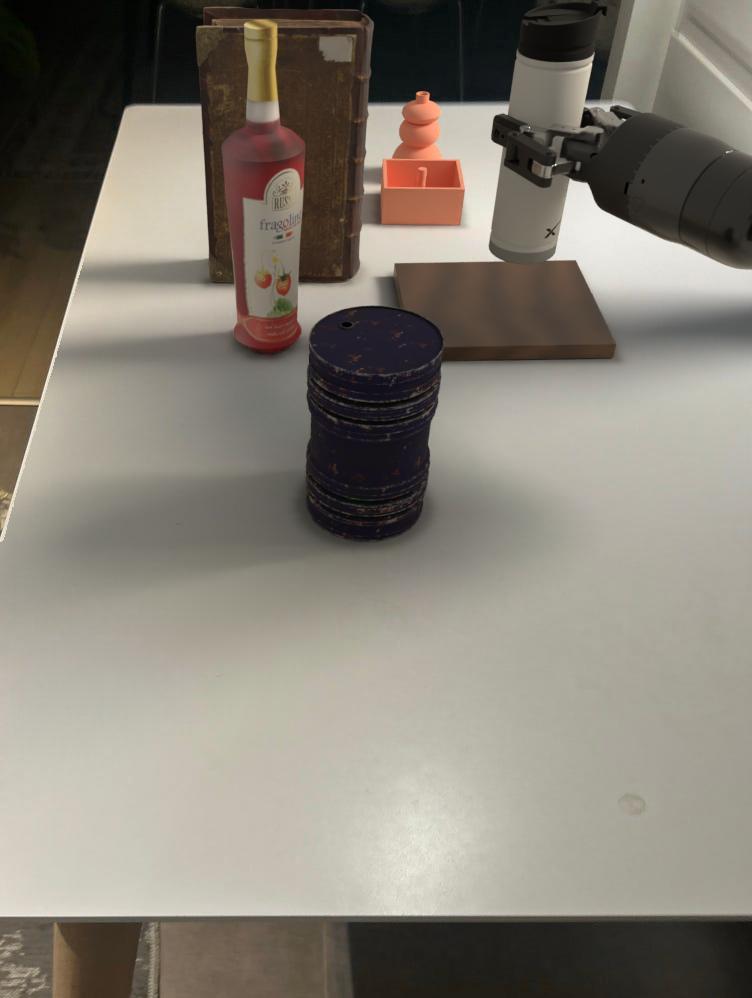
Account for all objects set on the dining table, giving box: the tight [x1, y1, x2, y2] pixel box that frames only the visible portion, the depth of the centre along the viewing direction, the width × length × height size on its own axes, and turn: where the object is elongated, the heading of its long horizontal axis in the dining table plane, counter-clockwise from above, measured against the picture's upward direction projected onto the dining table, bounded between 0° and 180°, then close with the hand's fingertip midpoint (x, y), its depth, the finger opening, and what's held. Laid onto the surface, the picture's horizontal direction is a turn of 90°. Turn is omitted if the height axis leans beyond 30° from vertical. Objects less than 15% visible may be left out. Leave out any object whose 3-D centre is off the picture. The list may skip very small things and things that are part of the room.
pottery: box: [380, 90, 466, 226], centre depth 118 cm, size 18×10×10 cm, turn 176°
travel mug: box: [488, 0, 608, 264], centre depth 83 cm, size 6×7×20 cm
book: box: [195, 6, 375, 283], centre depth 98 cm, size 17×7×25 cm, turn 82°
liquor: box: [221, 20, 305, 355], centre depth 86 cm, size 7×7×28 cm
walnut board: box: [393, 259, 617, 362], centre depth 99 cm, size 20×18×2 cm
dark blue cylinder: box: [304, 305, 444, 543], centre depth 73 cm, size 10×10×15 cm
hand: (525, 119), depth 84 cm, fingers closed on travel mug, 6 cm apart
